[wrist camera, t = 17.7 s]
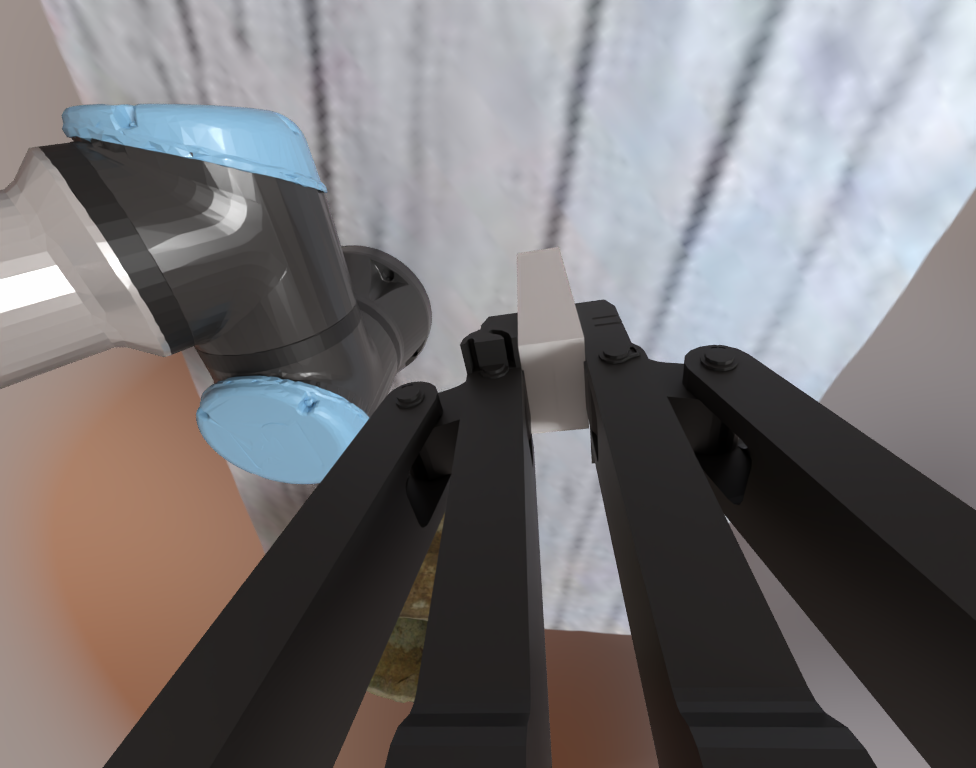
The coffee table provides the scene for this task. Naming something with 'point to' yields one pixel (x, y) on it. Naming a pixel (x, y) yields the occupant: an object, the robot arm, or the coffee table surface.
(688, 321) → the coffee table surface
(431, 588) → the clay pot
